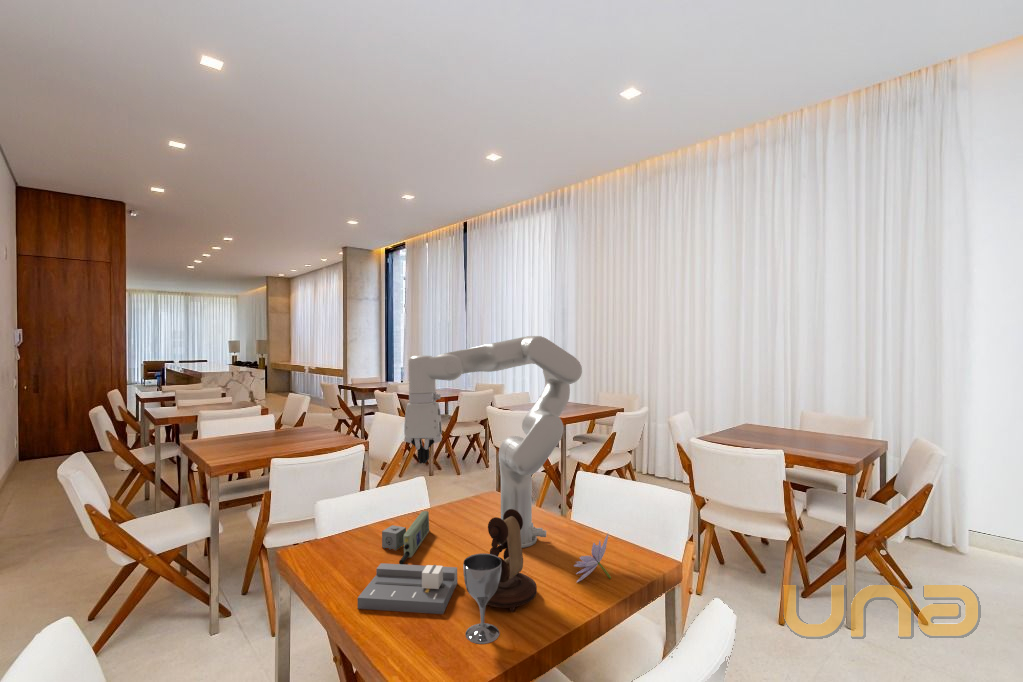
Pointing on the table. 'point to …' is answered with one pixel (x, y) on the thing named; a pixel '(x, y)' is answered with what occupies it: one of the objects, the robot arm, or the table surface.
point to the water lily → (592, 560)
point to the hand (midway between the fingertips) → (423, 462)
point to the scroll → (510, 562)
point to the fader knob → (432, 577)
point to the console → (407, 590)
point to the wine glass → (482, 592)
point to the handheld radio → (415, 535)
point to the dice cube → (393, 537)
